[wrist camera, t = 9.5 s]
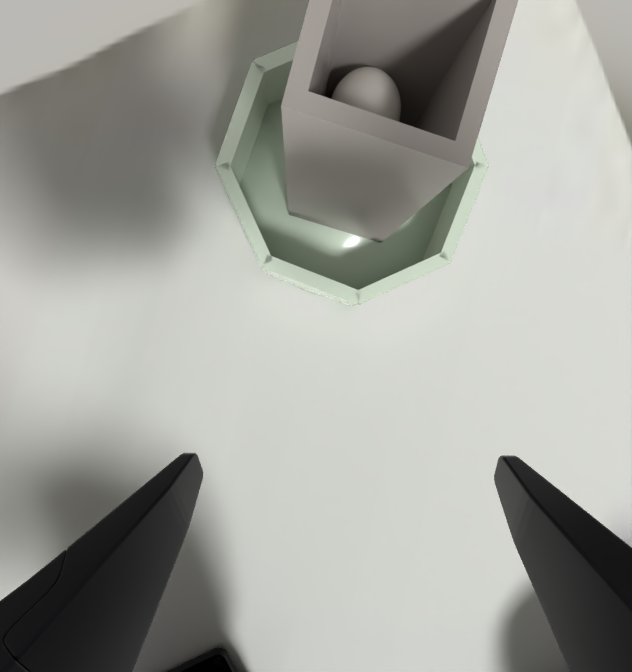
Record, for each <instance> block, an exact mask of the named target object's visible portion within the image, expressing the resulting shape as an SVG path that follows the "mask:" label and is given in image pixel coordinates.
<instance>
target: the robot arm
mask: <svg viewBox="0 0 632 672" xmlns="http://www.w3.org/2000/svg"><path fill="white" fill-rule="evenodd" d="M202 479H203V470H202V467H201V464H200V461H199V458H198V456H197V454H196V453H183V454H181V455H180V456H179V457H177V458H176V459H175V460H174V461H173V462H171V463H170V464H169V465H168V466H166V467H165V468H164V469H163V470H162V471H160V472H159V473H158V474H157V475H156V476H154V477H153V478H152V479H151V480H149V481H148V482H147V483H146V484H145V485H143V486H142V487H141V488H140V489H139V490H137V491H136V492H135V493H134V494H132V495H131V496H130V497H129V498H128V499H126V500H125V501H124V502H123V503H122V504H120V505H119V506H118V507H117V508H115V509H114V510H113V511H112V512H111V513H109V514H108V515H107V516H106V517H105V518H103V519H102V520H101V521H100V522H98V523H97V524H96V525H95V526H94V527H92V528H91V529H90V530H89V531H88V532H86V533H85V534H84V535H83V536H81V537H80V538H79V539H78V540H77V541H75V542H74V543H73V544H72V545H71V546H69V547H68V549H67V550H65V551H63V552H62V553H61V554H60V555H58V556H57V557H56V558H55V559H53V560H52V561H51V562H50V563H49V564H47V565H46V566H45V567H44V568H42V569H41V570H40V571H39V572H37V573H36V574H35V575H34V576H32V577H31V578H30V579H29V580H27V581H26V582H25V583H23V584H22V585H21V586H19V587H18V588H17V589H15V590H14V591H13V592H12V593H10V594H9V595H8V596H6V597H5V598H4V599H2V600H1V601H0V672H132V671H133V669H134V666H135V664H136V661H137V658H138V656H139V653H140V651H141V648H142V646H143V643H144V641H145V638H146V635H147V633H148V630H149V628H150V625H151V623H152V620H153V618H154V615H155V613H156V610H157V607H158V605H159V602H160V600H161V597H162V595H163V592H164V590H165V587H166V584H167V582H168V579H169V577H170V574H171V572H172V569H173V567H174V564H175V562H176V559H177V556H178V554H179V551H180V549H181V546H182V544H183V541H184V539H185V536H186V533H187V530H188V528H189V524H190V521H191V518H192V514H193V511H194V507H195V504H196V500H197V497H198V493H199V490H200V486H201V483H202ZM494 481H495V485H496V488H497V491H498V494H499V498H500V501H501V504H502V507H503V510H504V513H505V516H506V519H507V523H508V526H509V529H510V532H511V535H512V538H513V541H514V543H515V546H516V548H517V550H518V553H519V555H520V557H521V560H522V562H523V564H524V567H525V569H526V571H527V574H528V576H529V578H530V580H531V583H532V585H533V587H534V590H535V592H536V594H537V597H538V599H539V601H540V604H541V606H542V608H543V610H544V613H545V615H546V617H547V620H548V622H549V624H550V627H551V629H552V631H553V634H554V636H555V638H556V640H557V643H558V645H559V647H560V650H561V652H562V654H563V657H564V659H565V661H566V663H567V666H568V668H569V670H570V672H632V548H631V547H630V546H629V545H628V544H626V543H625V542H624V541H623V540H621V539H620V538H619V537H618V536H616V535H615V534H614V533H613V532H611V531H610V530H609V529H608V528H606V527H605V526H604V525H603V524H601V523H600V522H599V521H597V520H596V519H595V518H594V517H592V516H591V515H590V514H589V513H587V512H586V511H585V510H584V509H582V508H581V507H580V506H579V505H577V504H576V503H575V502H574V501H572V500H571V499H570V498H569V497H567V496H566V495H565V494H564V493H562V492H561V491H560V490H559V489H557V488H556V487H555V486H554V485H552V484H551V483H550V482H548V481H547V480H546V479H545V478H543V477H542V476H541V475H540V474H538V473H537V472H536V471H535V470H533V469H532V468H531V467H530V466H528V465H527V464H526V463H525V462H523V461H522V460H521V459H520V458H518V457H516V456H500V457H499V459H498V463H497V467H496V471H495V475H494ZM218 658H220V659H218ZM168 672H237V670H236V668H235V666H234V664H233V663H232V661H231V659H230V657H229V655H228V653H227V651H226V650H225V649H223V648H216V649H214V650H212V651H210V652H208V653H206V654H203V655H201V656H199V657H197V658H195V659H193V660H191V661H189V662H187V663H185V664H183V665H181V666H179V667H177V668H175V669H172V670H170V671H168Z"/></svg>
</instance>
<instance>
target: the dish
mask: <svg viewBox="0 0 632 672" xmlns="http://www.w3.org/2000/svg"><path fill="white" fill-rule="evenodd" d="M297 44H298V41H296V42H294V43H292V44H289V45H287V46H285V47H282V48H280V49H277V50H275V51H273V52H270V53H268V54H266V55H263V56H261V57H259V58H256V59H254V62H251V65H250V68H249V71H248V74H247V76H246V79H245V82H244V85H243V88H242V90H241V93H240V96H239V99H238V102H237V104H236V107H235V110H234V113H233V116H232V118H231V121H230V124H229V127H228V130H227V133H226V135H225V138H224V141H223V144H222V147H221V149H220V152H219V155H218V158H217V161H216V163H215V165H216V167H215V168H216V170H217V172H218V175H219V177H220V179H221V181H222V183H223V186H224V188H225V190H226V192H227V194H228V196H229V199H230V201H231V203H232V205H233V207H234V210H235V212H236V214H237V216H238V218H239V220H240V223H241V225H242V227H243V229H244V231H245V233H246V236H247V238H248V240H249V242H250V244H251V247H252V249H253V251H254V253H255V255H256V257H257V260H258V262H259V264H260V266H261V267H262V269H263V270H264V272H266V273H267V274H269V275H271V276H274V277H277V278H279V279H282V280H284V281H287V282H289V283H292V284H293V285H295V286H297V287H299V288H301V289H304V290H306V291H308V292H311V293H314V294H317V295H321V296H326V297H328V298H331V299H334V300H336V301H339V302H341V303H344V304H346V305H349V306H350V305H352V306H353V305H359V304H362V303H364V302H366V301H368V300H370V299H373V298H375V297H377V296H379V295H381V294H384V293H386V292H388V291H390V290H392V289H395V288H397V287H399V286H401V285H403V284H406V283H408V282H410V281H412V280H414V279H417V278H419V277H421V276H423V275H425V274H428V273H430V272H432V271H434V270H436V269H439V268H441V267H443V266H445V265H447V264H450V263H449V262H451V261H452V259H453V256H454V254H455V251H456V248H457V246H458V243H459V241H460V238H461V236H462V233H463V231H464V228H465V226H466V223H467V220H468V218H469V215H470V213H471V210H472V208H473V205H474V203H475V200H476V197H477V195H478V192H479V190H480V187H481V185H482V182H483V180H484V177H485V174H486V172H487V169H488V166H487V165H488V161H487V158H486V156H485V153H484V151H483V148H482V145H481V143H480V140H479V137H478V138H477V141H476V144H475V148H474V151H473V154H472V158H471V161H470V165H469V168H468V169H467V170H466V171H464V172H463V173H462V174H461V175H460V176H459V177H457V178H456V179H455V180H454V181H453V182H452V183H450V184H449V185H448V186H447V187H446V188H444V189H443V190H442V191H441V192H440V193H439V194H437V195H436V196H435V197H434V198H433V199H432V200H430V201H429V202H428V203H427V204H426V205H425V206H423V207H422V208H421V209H420V210H419V211H417V212H416V213H415V214H414V215H413V216H412V217H410V218H409V219H408V220H407V221H406V222H405V223H403V224H402V225H401V226H400V227H399V228H398V229H396V230H395V231H394V232H393V233H392V234H390V235H389V236H388V237H387V238H386V239H385V240H383V241H382V242H381V243H379V242H376V241H373V240H369V239H366V238H363V237H360V236H356V235H353V234H350V233H347V232H343V231H340V230H337V229H333V228H330V227H327V226H324V225H320V224H317V223H314V222H311V221H307V220H304V219H301V218H298V217H294V216H291V215H289V211H288V196H287V182H286V168H285V154H284V139H283V125H282V111H281V104H282V100H283V97H284V93H285V89H286V85H287V82H288V78H289V74H290V70H291V67H292V63H293V59H294V55H295V52H296V48H297Z"/></svg>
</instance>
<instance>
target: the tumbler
mask: <svg viewBox="0 0 632 672" xmlns="http://www.w3.org/2000/svg"><path fill="white" fill-rule="evenodd" d="M517 2H518V0H309V3H308V6H307V10H306V14H305V18H304V21H303V25H302V29H301V33H300V36H299V40H298V44H297V48H296V52H295V55H294V59H293V63H292V67H291V70H290V74H289V78H288V82H287V85H286V89H285V93H284V97H283V100H282V104H281V111H282V125H283V139H284V154H285V168H286V182H287V196H288V211H289V215H291V216H294V217H298V218H301V219H304V220H307V221H311V222H314V223H317V224H320V225H324V226H327V227H330V228H333V229H337V230H340V231H343V232H347V233H350V234H353V235H356V236H360V237H363V238H366V239H369V240H373V241H376V242H379V243H381V242H382V241H383V240H385V239H386V238H387V237H388V236H389V235H390V234H392V233H393V232H394V231H395V230H396V229H398V228H399V227H400V226H401V225H402V224H403V223H405V222H406V221H407V220H408V219H409V218H410V217H412V216H413V215H414V214H415V213H416V212H417V211H419V210H420V209H421V208H422V207H423V206H425V205H426V204H427V203H428V202H429V201H430V200H432V199H433V198H434V197H435V196H436V195H437V194H439V193H440V192H441V191H442V190H443V189H444V188H446V187H447V186H448V185H449V184H450V183H452V182H453V181H454V180H455V179H456V178H457V177H459V176H460V175H461V174H462V173H463V172H464V171H466V170H467V169H468V168H469V165H470V161H471V158H472V154H473V151H474V148H475V144H476V141H477V138H478V134H479V131H480V127H481V124H482V121H483V117H484V114H485V111H486V107H487V104H488V100H489V97H490V94H491V90H492V87H493V84H494V80H495V77H496V73H497V70H498V67H499V63H500V60H501V57H502V53H503V50H504V46H505V43H506V40H507V36H508V33H509V29H510V26H511V23H512V19H513V16H514V13H515V9H516V6H517ZM361 67H376V68H379V69H381V70H383V71H384V72H386V73H387V74H388V75H389V76H390V77H391V78H392V79H393V80H394V82H395V84H396V86H397V88H398V90H399V94H400V99H401V115H400V120H399V122H398V121H395V120H392V119H389V118H386V117H383V116H380V115H377V114H374V113H371V112H368V111H365V110H362V109H359V108H357V107H354V106H351V105H348V104H345V103H342V102H339V101H336V100H333V99H331V97H332V95H333V92H334V90H335V88H336V87H337V85H338V84H339V82H340V81H341V80H342V79H343V78H344V77H345V76H346V75H347V74H348V73H350V72H351V71H353V70H355V69H357V68H361Z"/></svg>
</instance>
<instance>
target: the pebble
mask: <svg viewBox="0 0 632 672" xmlns="http://www.w3.org/2000/svg"><path fill="white" fill-rule="evenodd" d="M331 99H333V100H336V101H339V102H342V103H345V104H348V105H351V106H354V107H357V108H359V109H362V110H365V111H368V112H371V113H374V114H377V115H380V116H383V117H386V118H389V119H392V120H395V121H398V122H399V120H400V115H401V99H400V94H399V90H398V88H397V86H396V84H395V82H394V80H393V79H392V78H391V77H390V76H389V75H388V74H387V73H386V72H384V71H383V70H381V69H379V68H376V67H361V68H357V69H355V70H353V71H351V72H350V73H348V74H347V75H346V76H345V77H344V78H343V79H342V80H341V81H340V82H339V84H338V85H337V87H336V88H335V90H334V92H333V95H332V97H331Z"/></svg>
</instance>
